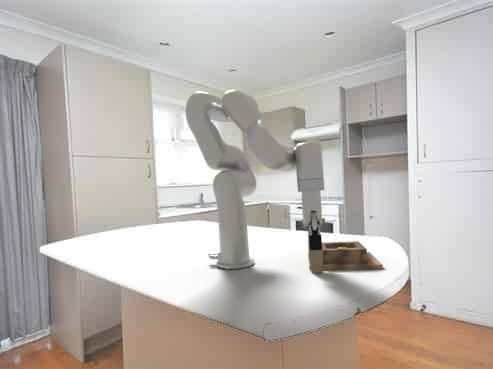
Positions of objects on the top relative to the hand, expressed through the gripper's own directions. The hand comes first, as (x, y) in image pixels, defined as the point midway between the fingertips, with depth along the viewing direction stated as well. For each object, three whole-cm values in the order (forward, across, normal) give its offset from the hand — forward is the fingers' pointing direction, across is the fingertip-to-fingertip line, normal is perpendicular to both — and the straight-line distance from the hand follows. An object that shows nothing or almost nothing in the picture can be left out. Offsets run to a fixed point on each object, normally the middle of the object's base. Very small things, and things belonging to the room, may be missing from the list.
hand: (315, 246), depth 82 cm
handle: (+7, 0, 0) cm, 7 cm away
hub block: (+7, -10, +8) cm, 15 cm away
